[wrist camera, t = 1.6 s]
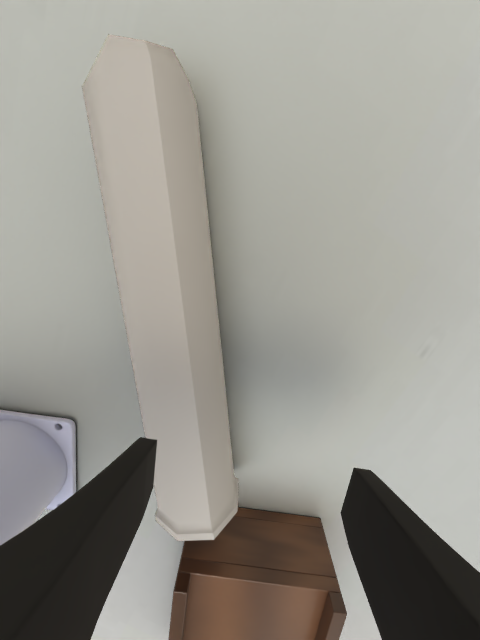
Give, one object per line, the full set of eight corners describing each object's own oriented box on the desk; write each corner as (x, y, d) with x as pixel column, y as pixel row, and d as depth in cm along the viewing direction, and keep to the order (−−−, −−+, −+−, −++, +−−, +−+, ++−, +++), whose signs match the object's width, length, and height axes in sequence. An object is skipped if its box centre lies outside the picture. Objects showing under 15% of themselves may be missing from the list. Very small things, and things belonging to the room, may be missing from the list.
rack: (177, 641, 25) (156, 756, 19) (193, 501, 21) (173, 591, 15) (284, 655, 25) (296, 773, 19) (320, 517, 21) (347, 614, 15)
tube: (38, 30, 11) (139, 529, 16) (147, -31, 9) (220, 556, 14) (132, 98, 16) (186, 465, 21) (215, 68, 14) (250, 479, 19)
